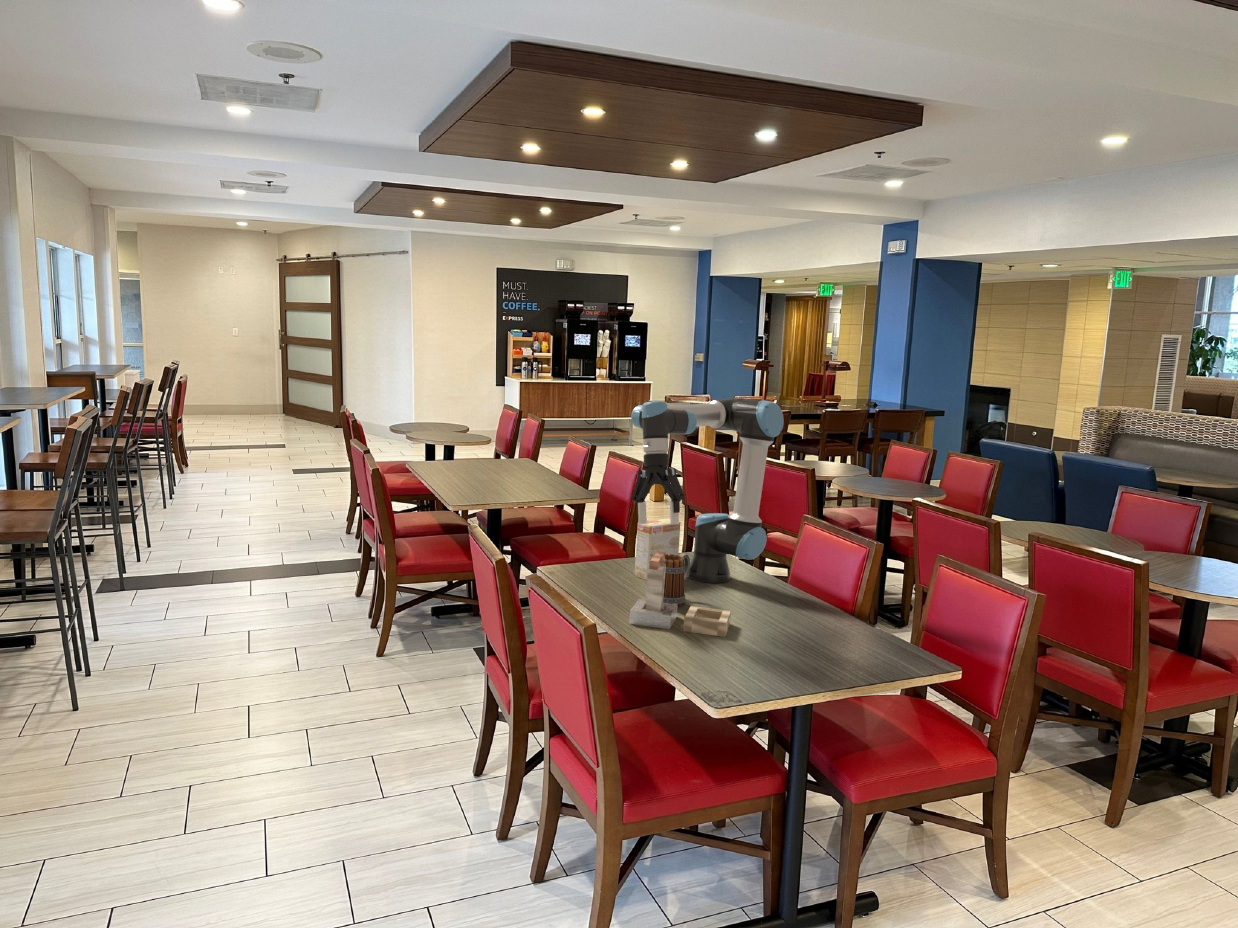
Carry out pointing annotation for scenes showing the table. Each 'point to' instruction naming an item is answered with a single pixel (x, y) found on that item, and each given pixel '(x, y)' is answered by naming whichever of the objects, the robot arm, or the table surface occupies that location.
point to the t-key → (656, 582)
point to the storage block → (707, 621)
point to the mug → (675, 578)
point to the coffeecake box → (655, 543)
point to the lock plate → (653, 615)
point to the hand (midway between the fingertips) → (658, 524)
